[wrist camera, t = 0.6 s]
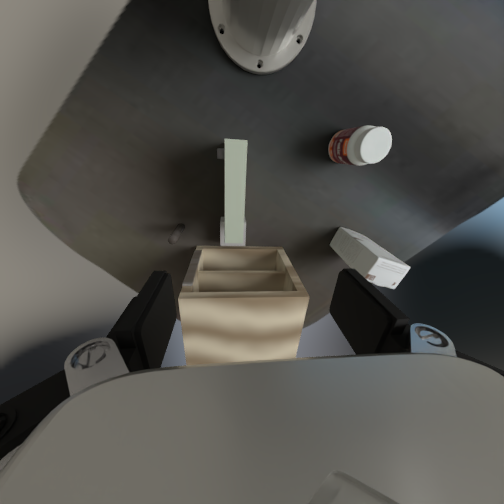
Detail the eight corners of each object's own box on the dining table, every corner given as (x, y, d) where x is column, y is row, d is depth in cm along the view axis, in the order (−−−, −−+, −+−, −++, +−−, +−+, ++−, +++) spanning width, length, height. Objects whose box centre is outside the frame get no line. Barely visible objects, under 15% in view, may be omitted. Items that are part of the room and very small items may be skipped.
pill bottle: (323, 141, 31) (352, 137, 24) (351, 122, 31) (390, 113, 23) (333, 169, 33) (363, 174, 26) (360, 153, 33) (399, 153, 25)
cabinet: (177, 223, 35) (144, 268, 22) (284, 226, 37) (315, 268, 24) (185, 298, 42) (164, 366, 29) (275, 296, 44) (294, 359, 31)
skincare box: (364, 234, 39) (415, 266, 29) (352, 254, 41) (395, 290, 30) (338, 225, 38) (380, 254, 27) (326, 246, 40) (362, 281, 29)
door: (219, 142, 30) (215, 138, 21) (248, 144, 31) (255, 140, 22) (220, 239, 37) (217, 266, 28) (244, 239, 37) (248, 266, 28)
